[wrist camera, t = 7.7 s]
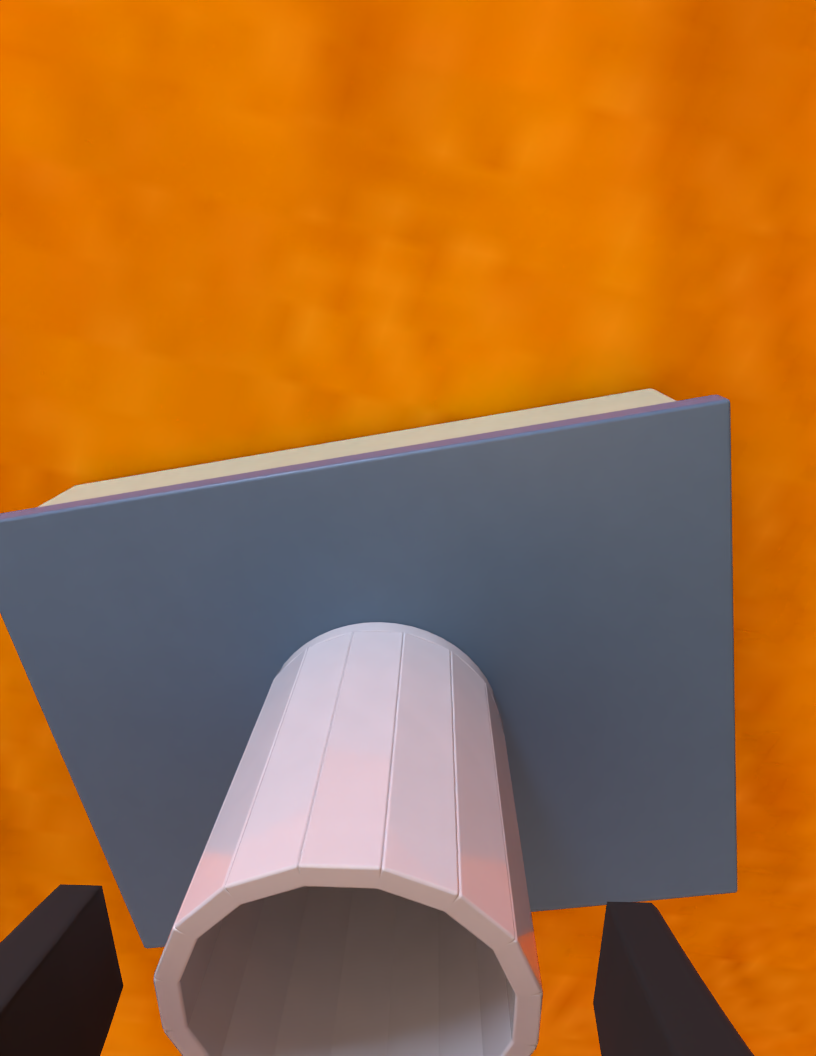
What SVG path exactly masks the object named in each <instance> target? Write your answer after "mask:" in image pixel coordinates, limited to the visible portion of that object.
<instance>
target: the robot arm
mask: <svg viewBox="0 0 816 1056" xmlns="http://www.w3.org/2000/svg"><path fill="white" fill-rule="evenodd" d="M122 988H123V982H122V978H121V973H120V968H119V964H118V959H117V955H116V950H115V945H114V941H113V936H112V931H111V927H110V922H109V917H108V913H107V908H106V903H105V899H104V894H103V889H102V886H91V885H59V886H58V887H57V888H56V889H55V890H54V891H53V892H52V893H51V894H50V895H49V896H48V897H47V898H46V899H45V900H44V901H43V902H42V903H41V904H40V905H38V906H37V907H36V908H35V909H34V910H33V911H32V912H31V913H30V914H29V915H28V916H27V917H26V918H25V919H24V920H23V921H22V922H21V923H20V924H19V925H18V926H17V927H16V928H15V929H14V930H13V931H12V932H11V933H10V934H9V935H8V936H7V937H6V938H5V939H4V940H3V941H2V942H1V943H0V1056H100V1054H101V1051H102V1048H103V1046H104V1043H105V1040H106V1037H107V1034H108V1031H109V1028H110V1025H111V1022H112V1019H113V1016H114V1013H115V1010H116V1007H117V1003H118V1000H119V997H120V994H121V991H122ZM593 1004H594V1011H595V1017H596V1024H597V1030H598V1036H599V1043H600V1049H601V1055H602V1056H754V1055H753V1054H752V1052H751V1051H750V1049H749V1048H748V1047H747V1045H746V1044H745V1042H744V1041H743V1040H742V1038H741V1037H740V1035H739V1034H738V1032H737V1031H736V1029H735V1028H734V1027H733V1025H732V1024H731V1022H730V1021H729V1019H728V1018H727V1016H726V1015H725V1013H724V1012H723V1010H722V1009H721V1007H720V1006H719V1004H718V1003H717V1001H716V1000H715V998H714V997H713V995H712V994H711V992H710V991H709V989H708V988H707V986H706V985H705V983H704V982H703V980H702V979H701V977H700V976H699V974H698V973H697V971H696V970H695V968H694V967H693V965H692V963H691V962H690V960H689V959H688V957H687V956H686V954H685V952H684V951H683V949H682V948H681V946H680V945H679V943H678V941H677V940H676V938H675V937H674V935H673V933H672V932H671V930H670V928H669V927H668V925H667V924H666V922H665V920H664V919H663V917H662V915H661V914H660V912H659V910H658V909H657V908H656V907H655V906H654V905H653V904H652V903H639V902H607V906H606V913H605V920H604V928H603V935H602V942H601V950H600V957H599V964H598V972H597V979H596V987H595V994H594V1001H593Z"/></svg>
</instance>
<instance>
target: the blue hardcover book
mask: <svg viewBox="0 0 816 1056" xmlns="http://www.w3.org/2000/svg"><path fill="white" fill-rule="evenodd" d="M0 613H1V616H2V618H3V620H4V623H5V625H6V627H7V629H8V632H9V634H10V636H11V639H12V641H13V643H14V646H15V648H16V650H17V653H18V655H19V657H20V660H21V662H22V664H23V667H24V669H25V671H26V674H27V676H28V678H29V680H30V683H31V685H32V687H33V690H34V692H35V694H36V697H37V699H38V701H39V704H40V706H41V708H42V711H43V713H44V715H45V718H46V720H47V722H48V725H49V727H50V729H51V732H52V734H53V736H54V738H55V741H56V743H57V745H58V748H59V750H60V752H61V755H62V757H63V759H64V762H65V764H66V766H67V769H68V771H69V773H70V776H71V778H72V780H73V783H74V785H75V787H76V789H77V792H78V794H79V796H80V799H81V801H82V803H83V806H84V808H85V810H86V813H87V815H88V817H89V820H90V822H91V824H92V827H93V829H94V831H95V834H96V836H97V838H98V840H99V843H100V845H101V847H102V850H103V852H104V854H105V857H106V859H107V861H108V864H109V866H110V868H111V871H112V873H113V875H114V878H115V880H116V882H117V885H118V887H119V889H120V891H121V894H122V896H123V898H124V901H125V903H126V905H127V908H128V910H129V912H130V915H131V917H132V919H133V922H134V924H135V926H136V929H137V931H138V933H139V936H140V938H141V940H142V942H143V945H144V947H145V948H156V947H165V945H166V942H167V940H168V937H169V935H170V932H171V930H172V927H173V925H174V922H175V920H176V917H177V915H178V913H179V910H180V908H181V905H182V903H183V900H184V898H185V895H186V893H187V890H188V888H189V886H190V883H191V881H192V878H193V876H194V873H195V871H196V868H197V866H198V863H199V861H200V859H201V856H202V854H203V851H204V849H205V846H206V844H207V841H208V839H209V837H210V834H211V832H212V829H213V827H214V824H215V822H216V819H217V817H218V814H219V812H220V810H221V807H222V805H223V802H224V800H225V797H226V795H227V792H228V790H229V787H230V785H231V783H232V780H233V778H234V775H235V773H236V770H237V768H238V765H239V763H240V760H241V758H242V756H243V753H244V751H245V748H246V746H247V743H248V741H249V738H250V736H251V734H252V731H253V729H254V726H255V724H256V721H257V719H258V716H259V714H260V711H261V709H262V707H263V704H264V702H265V699H266V697H267V694H268V692H269V689H270V687H271V684H272V682H273V680H274V678H275V677H276V675H277V673H278V672H279V670H280V669H281V667H282V666H283V665H284V663H285V662H286V661H287V660H288V659H289V658H290V657H291V656H292V655H293V653H294V652H296V651H297V650H298V649H299V648H301V647H302V646H303V645H304V644H306V643H307V642H309V641H311V640H312V639H314V638H316V637H317V636H319V635H322V634H324V633H326V632H329V631H331V630H333V629H337V628H340V627H344V626H347V625H352V624H358V623H367V622H388V623H398V624H403V625H408V626H413V627H416V628H419V629H422V630H426V631H428V632H431V633H433V634H435V635H437V636H439V637H442V638H443V639H445V640H447V641H448V642H450V643H451V644H453V645H455V646H456V647H457V648H459V649H460V650H461V651H462V652H464V653H465V654H466V655H467V656H468V657H469V658H470V659H471V660H472V661H473V662H474V663H475V664H476V665H477V666H478V667H479V669H480V670H481V671H482V673H483V674H484V676H485V677H486V678H487V680H488V682H489V684H490V686H491V688H492V690H493V692H494V695H495V698H496V701H497V705H498V710H499V713H500V716H501V718H502V722H503V728H504V735H505V742H506V748H507V755H508V762H509V769H510V775H511V782H512V789H513V795H514V802H515V809H516V816H517V822H518V829H519V836H520V842H521V849H522V856H523V862H524V869H525V876H526V883H527V889H528V896H529V903H530V909H531V912H535V911H545V910H556V909H566V908H577V907H587V906H598V905H607V902H640V901H651V900H661V899H672V898H682V897H693V896H703V895H714V894H724V893H735V892H737V839H736V771H735V702H734V634H733V566H732V497H731V429H730V401H729V399H726V398H724V397H722V396H719V395H710V396H704V397H698V398H692V399H686V400H680V401H676V400H674V399H672V398H670V397H668V396H666V395H664V394H662V393H660V392H658V391H656V390H654V389H651V388H650V389H644V390H638V391H632V392H626V393H621V394H615V395H609V396H603V397H597V398H591V399H585V400H579V401H573V402H567V403H561V404H555V405H549V406H544V407H538V408H532V409H526V410H520V411H514V412H508V413H502V414H496V415H490V416H484V417H478V418H472V419H466V420H461V421H455V422H449V423H443V424H437V425H431V426H425V427H419V428H413V429H407V430H401V431H395V432H389V433H384V434H378V435H372V436H366V437H360V438H354V439H348V440H342V441H336V442H330V443H324V444H318V445H312V446H307V447H301V448H295V449H289V450H283V451H277V452H271V453H265V454H259V455H253V456H247V457H241V458H235V459H230V460H224V461H218V462H212V463H206V464H200V465H194V466H188V467H182V468H176V469H170V470H164V471H158V472H152V473H147V474H141V475H135V476H129V477H123V478H117V479H111V480H105V481H99V482H93V483H87V484H81V485H75V486H73V487H72V488H70V489H68V490H66V491H65V492H63V493H61V494H59V495H58V496H56V497H54V498H52V499H51V500H49V501H47V502H45V503H44V504H42V505H40V506H38V507H37V508H31V509H25V510H19V511H13V512H7V513H1V514H0Z"/></svg>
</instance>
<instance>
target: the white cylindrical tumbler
mask: <svg viewBox="0 0 816 1056" xmlns="http://www.w3.org/2000/svg"><path fill="white" fill-rule="evenodd" d="M154 985H155V991H156V996H157V1001H158V1006H159V1011H160V1017H161V1022H162V1027H163V1029H164V1032H165V1034H166V1035H167V1036H168V1038H169V1039H170V1040H171V1041H172V1043H173V1044H174V1045H175V1047H176V1048H177V1049H178V1050H179V1052H180V1053H181V1054H182V1056H530V1055H531V1054H532V1053H533V1051H534V1050H535V1049H536V1046H537V1044H538V1040H539V1030H540V1019H541V1009H542V999H543V990H542V983H541V976H540V970H539V963H538V956H537V950H536V943H535V936H534V929H533V923H532V916H531V909H530V903H529V896H528V889H527V883H526V876H525V869H524V862H523V856H522V849H521V842H520V836H519V829H518V822H517V816H516V809H515V802H514V795H513V789H512V782H511V775H510V769H509V762H508V755H507V748H506V742H505V735H504V728H503V722H502V718H501V716H500V713H499V710H498V705H497V701H496V698H495V695H494V692H493V690H492V688H491V686H490V684H489V682H488V680H487V678H486V677H485V676H484V674H483V673H482V671H481V670H480V669H479V667H478V666H477V665H476V664H475V663H474V662H473V661H472V660H471V659H470V658H469V657H468V656H467V655H466V654H465V653H464V652H462V651H461V650H460V649H459V648H457V647H456V646H455V645H453V644H451V643H450V642H448V641H447V640H445V639H443V638H442V637H439V636H437V635H435V634H433V633H431V632H428V631H426V630H422V629H419V628H416V627H413V626H408V625H403V624H398V623H388V622H367V623H358V624H352V625H347V626H344V627H340V628H337V629H333V630H331V631H329V632H326V633H324V634H322V635H319V636H317V637H316V638H314V639H312V640H311V641H309V642H307V643H306V644H304V645H303V646H302V647H301V648H299V649H298V650H297V651H296V652H294V653H293V655H292V656H291V657H290V658H289V659H288V660H287V661H286V662H285V663H284V665H283V666H282V667H281V669H280V670H279V672H278V673H277V675H276V677H275V678H274V680H273V682H272V684H271V687H270V689H269V692H268V694H267V697H266V699H265V702H264V704H263V707H262V709H261V711H260V714H259V716H258V719H257V721H256V724H255V726H254V729H253V731H252V734H251V736H250V738H249V741H248V743H247V746H246V748H245V751H244V753H243V756H242V758H241V760H240V763H239V765H238V768H237V770H236V773H235V775H234V778H233V780H232V783H231V785H230V787H229V790H228V792H227V795H226V797H225V800H224V802H223V805H222V807H221V810H220V812H219V814H218V817H217V819H216V822H215V824H214V827H213V829H212V832H211V834H210V837H209V839H208V841H207V844H206V846H205V849H204V851H203V854H202V856H201V859H200V861H199V863H198V866H197V868H196V871H195V873H194V876H193V878H192V881H191V883H190V886H189V888H188V890H187V893H186V895H185V898H184V900H183V903H182V905H181V908H180V910H179V913H178V915H177V917H176V920H175V922H174V925H173V927H172V930H171V932H170V935H169V937H168V940H167V942H166V945H165V947H164V950H163V953H162V955H161V958H160V960H159V963H158V965H157V968H156V970H155V973H154Z"/></svg>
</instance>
